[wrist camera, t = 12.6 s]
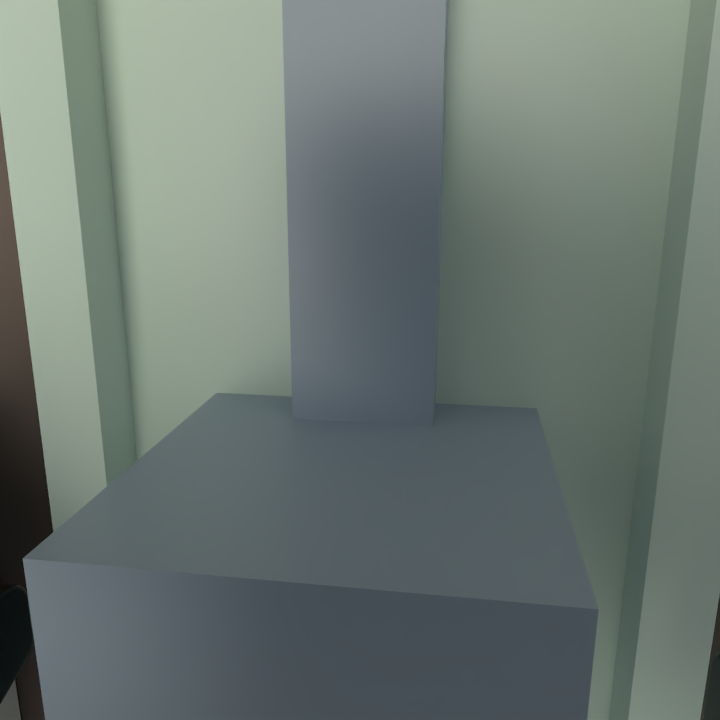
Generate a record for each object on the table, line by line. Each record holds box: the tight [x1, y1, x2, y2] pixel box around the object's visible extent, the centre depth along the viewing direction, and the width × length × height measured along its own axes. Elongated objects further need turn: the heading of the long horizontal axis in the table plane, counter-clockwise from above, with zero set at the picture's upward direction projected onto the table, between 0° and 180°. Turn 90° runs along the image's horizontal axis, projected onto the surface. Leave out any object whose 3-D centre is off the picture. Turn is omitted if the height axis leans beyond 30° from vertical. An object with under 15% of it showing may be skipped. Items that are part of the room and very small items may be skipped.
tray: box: [0, 0, 720, 720], centre depth 10 cm, size 21×10×2 cm, turn 0°
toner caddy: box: [23, 0, 599, 720], centre depth 8 cm, size 15×5×5 cm, turn 0°
